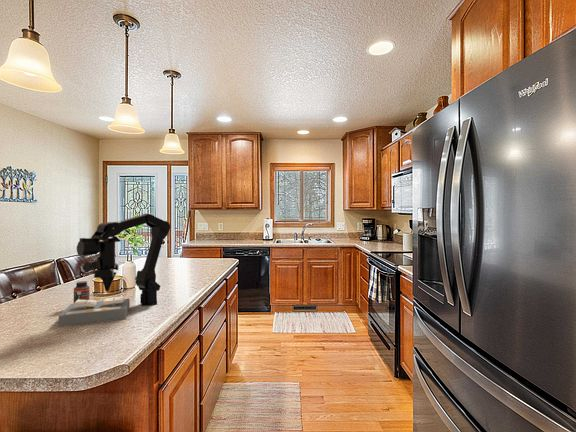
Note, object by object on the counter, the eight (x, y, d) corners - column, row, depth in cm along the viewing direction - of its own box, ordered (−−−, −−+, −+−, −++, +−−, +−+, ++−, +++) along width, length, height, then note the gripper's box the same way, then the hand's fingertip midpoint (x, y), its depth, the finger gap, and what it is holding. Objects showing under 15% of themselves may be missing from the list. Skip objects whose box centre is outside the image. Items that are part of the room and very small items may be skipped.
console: (129, 307, 137) (129, 296, 137) (125, 318, 122) (125, 306, 122) (70, 313, 128) (70, 301, 128) (58, 326, 114) (58, 313, 114)
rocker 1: (96, 303, 127) (97, 300, 127) (94, 306, 123) (94, 303, 123) (77, 302, 125) (77, 299, 125) (73, 305, 120) (74, 302, 120)
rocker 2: (124, 299, 131) (124, 296, 131) (122, 302, 126) (122, 299, 126) (105, 301, 128) (105, 298, 128) (103, 304, 124) (103, 301, 124)
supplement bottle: (81, 309, 134) (81, 283, 134) (70, 308, 135) (70, 283, 135) (92, 305, 140) (92, 280, 140) (81, 304, 141) (81, 280, 141)
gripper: (89, 251, 132) (89, 287, 132) (78, 257, 115) (78, 298, 115) (118, 250, 136) (118, 285, 136) (112, 255, 119) (112, 295, 119)
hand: (107, 291), depth 126 cm, fingers closed
